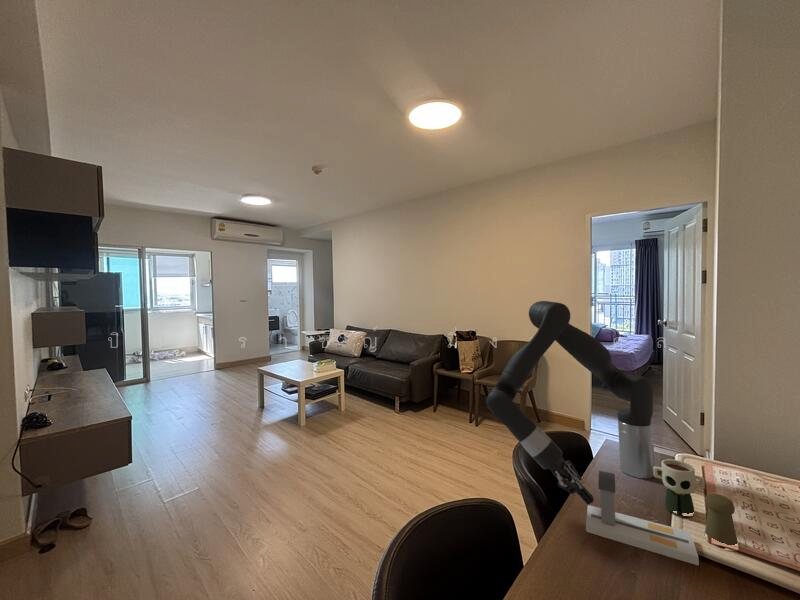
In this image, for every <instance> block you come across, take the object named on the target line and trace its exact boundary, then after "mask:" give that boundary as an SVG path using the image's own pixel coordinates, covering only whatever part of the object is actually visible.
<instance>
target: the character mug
mask: <svg viewBox="0 0 800 600" xmlns="http://www.w3.org/2000/svg"><path fill="white" fill-rule="evenodd" d="M660 463H661V467H660V466H656V465H655V466H654V467H653V472H654V473H653V477H654V478H656V479H660V480H661V481H662V483H663V485H664V486H665V487H666V488H667V489H666V492H665V499H664V500H665V501H664V504H665V505H664V506H665V508H666V509H667V510H668V511H669V512H671V513H673V511H678V513H681V512H682V513H687V514H689V513H693V512H694V511H695V506H694V502H693V497H692V495H691V494H693V493H695V491H696V489H699V490H705V489H706V483H705V478H704V477H702V476H699V475H696V470H695V468H694V466H692V465H691V464H689V463H687V462H685V461H682V460H677V459H672V458H671V459H670V458H667V459H663V460H662V461H661V462H660ZM658 471H661V475H660V474H658V473H659V472H658ZM696 480H698V481H699V484H698V483H696ZM682 513H681V514H682Z"/></svg>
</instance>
